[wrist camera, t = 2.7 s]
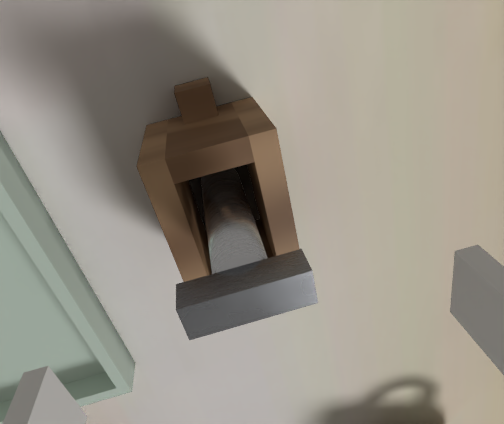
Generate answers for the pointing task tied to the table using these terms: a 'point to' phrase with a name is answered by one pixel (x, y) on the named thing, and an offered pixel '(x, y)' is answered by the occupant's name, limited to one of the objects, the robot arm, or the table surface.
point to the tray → (50, 303)
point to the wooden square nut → (211, 161)
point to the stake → (239, 267)
